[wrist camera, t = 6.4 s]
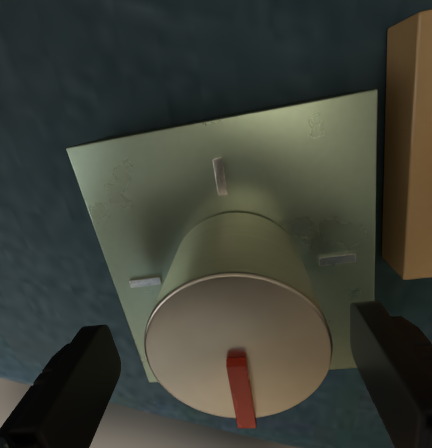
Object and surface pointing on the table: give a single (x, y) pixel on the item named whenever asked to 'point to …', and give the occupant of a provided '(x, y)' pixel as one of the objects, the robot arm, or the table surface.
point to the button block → (408, 148)
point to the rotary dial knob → (238, 322)
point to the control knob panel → (242, 198)
